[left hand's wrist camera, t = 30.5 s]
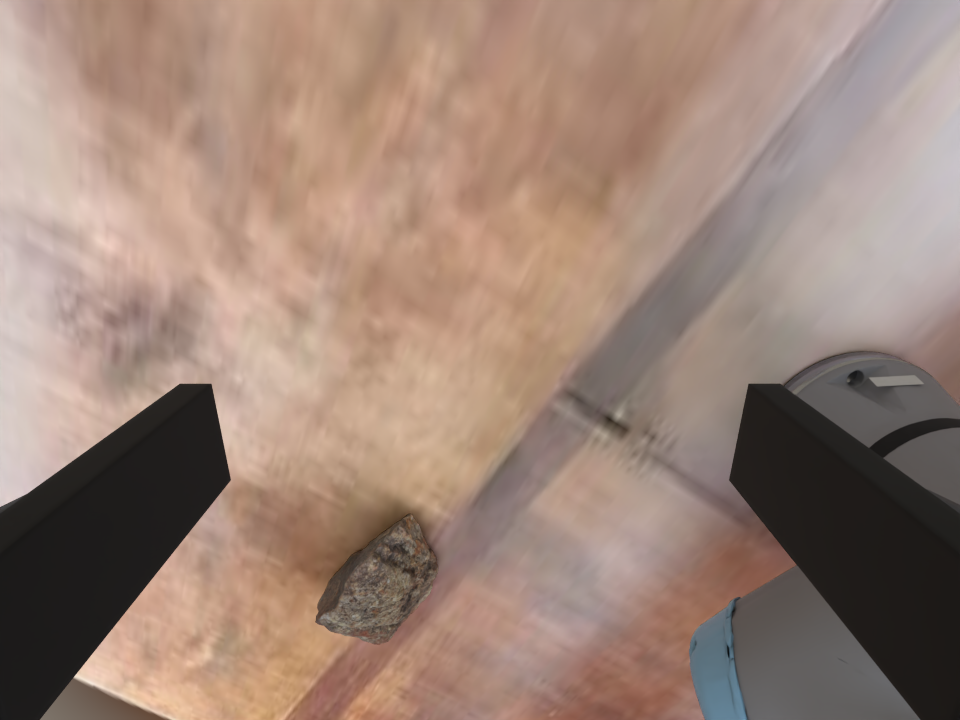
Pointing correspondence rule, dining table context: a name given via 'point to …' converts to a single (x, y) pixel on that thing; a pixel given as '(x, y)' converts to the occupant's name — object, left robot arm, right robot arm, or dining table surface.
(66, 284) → the dining table surface
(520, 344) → the dining table surface
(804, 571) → the left robot arm
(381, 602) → the rock
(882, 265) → the dining table surface
